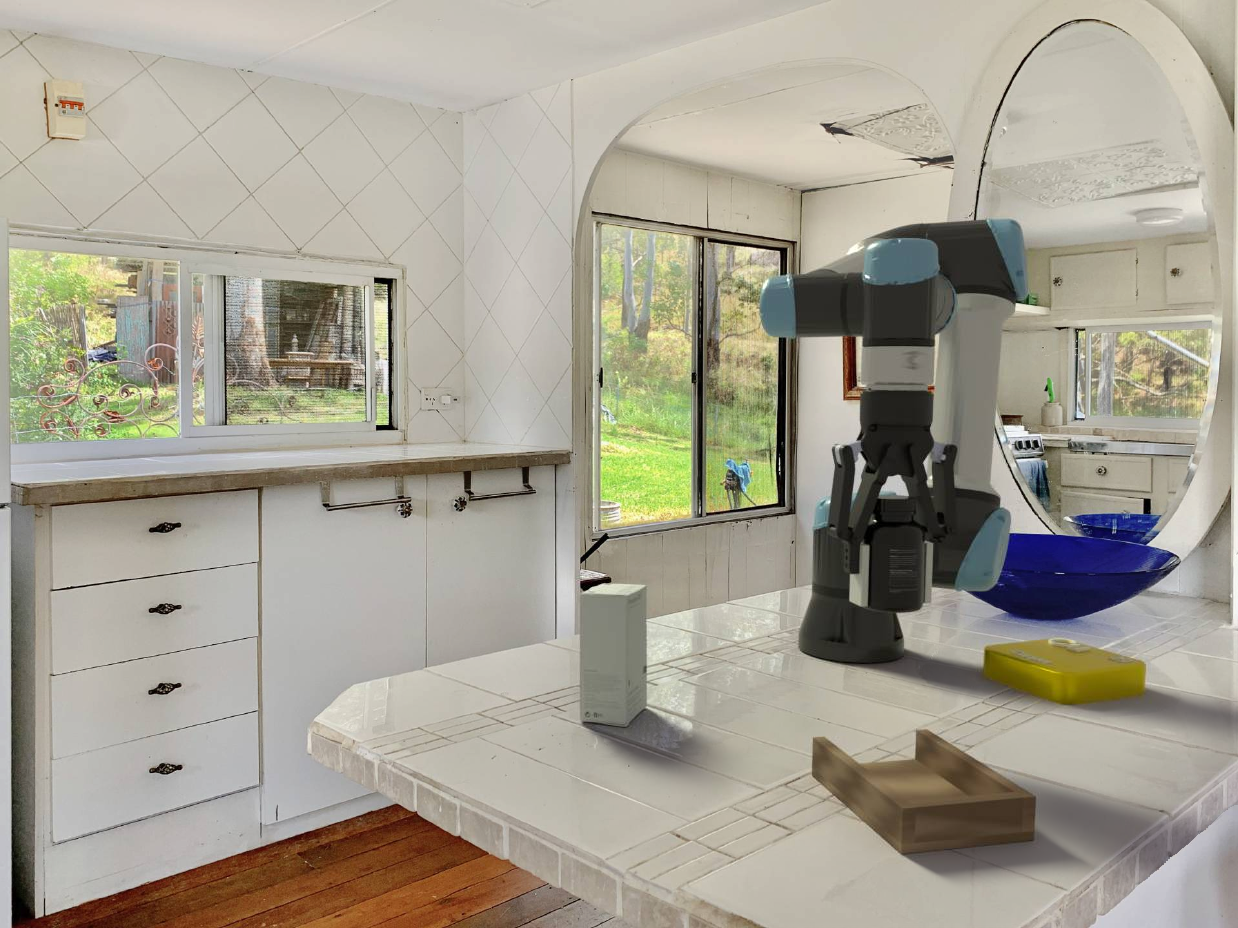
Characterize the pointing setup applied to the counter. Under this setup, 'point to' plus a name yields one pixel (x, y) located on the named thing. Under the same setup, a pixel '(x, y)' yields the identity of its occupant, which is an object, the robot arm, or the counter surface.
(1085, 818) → the counter surface
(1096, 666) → the element tile
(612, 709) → the skincare box
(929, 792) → the u rest
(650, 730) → the counter surface
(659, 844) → the counter surface
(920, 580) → the supplement bottle
